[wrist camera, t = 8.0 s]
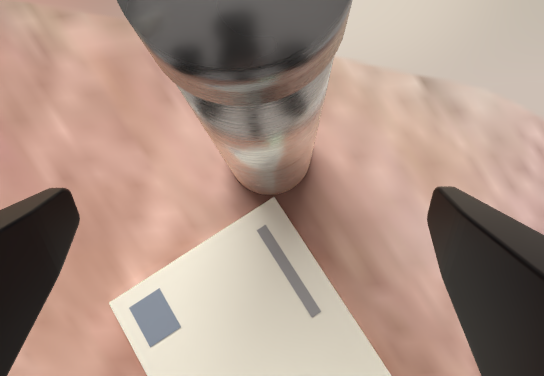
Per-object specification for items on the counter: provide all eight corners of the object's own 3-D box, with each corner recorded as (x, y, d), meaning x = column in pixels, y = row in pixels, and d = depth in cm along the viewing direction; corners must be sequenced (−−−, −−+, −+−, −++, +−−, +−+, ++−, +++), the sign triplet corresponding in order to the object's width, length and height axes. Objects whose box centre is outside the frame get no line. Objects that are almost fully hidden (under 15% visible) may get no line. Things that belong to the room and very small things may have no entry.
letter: (427, 432, 16) (430, 435, 16) (248, 560, 15) (247, 565, 15) (274, 197, 18) (274, 196, 18) (111, 302, 18) (108, 302, 17)
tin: (329, 166, 18) (413, -21, 6) (256, 213, 18) (188, 117, 6) (282, 99, 19) (272, -191, 7) (211, 143, 19) (67, -76, 7)
